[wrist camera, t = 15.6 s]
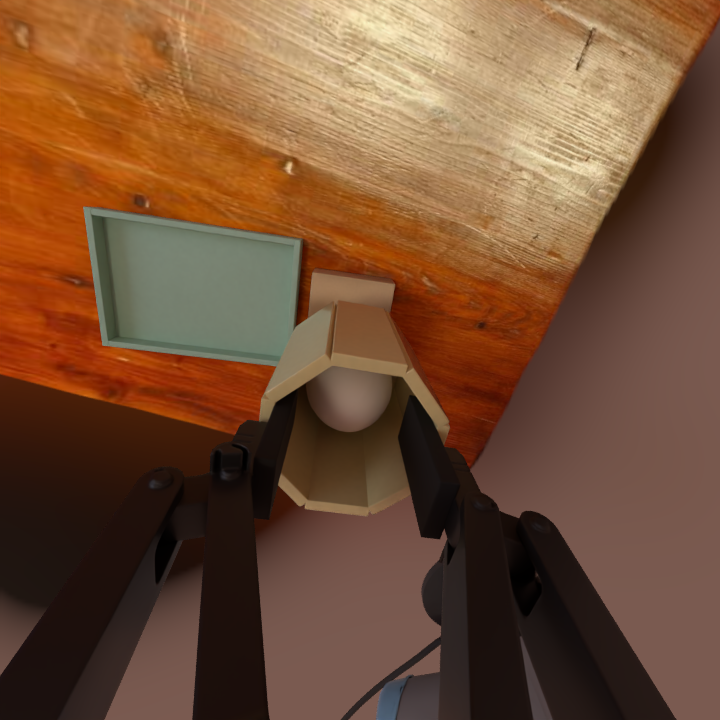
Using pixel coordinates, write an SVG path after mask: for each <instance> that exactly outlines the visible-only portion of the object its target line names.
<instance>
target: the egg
mask: <svg viewBox="0 0 720 720" xmlns="http://www.w3.org/2000/svg"><path fill="white" fill-rule="evenodd" d="M306 391H307V397H308V400H309V403H310V406H311V407H312V409H313V410H314V412H315V413H316V414H317V416H318V417H319V418H320V420H321V421H323V422H324V423H325V424H326V425H328V426H330V427H331V428H333V429H336V430H338V431H343V432H357V431H359V430H362V429H365V428H367V427H369V426H371V425H372V424H373V423H374V422H376V421H377V420H378V419H379V418H380V416H381V415H382V414H383V412H384V411H385V409H386V407H387V406H388V404H389V401H390V398H391V393H392V376H391V375H387V374H380V373H374V372H368V371H362V370H356V369H350V368H344V367H338V366H331V367H330V368H328V369H327V370H325V371H324V372H322V373H321V374H319V375H317V376H316V377H314V378H313V379H311V380H310V381H308V382H307V383H306Z"/></svg>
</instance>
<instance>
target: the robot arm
mask: <svg viewBox="0 0 720 720" xmlns="http://www.w3.org/2000/svg"><path fill="white" fill-rule="evenodd" d="M298 392H299V388H297V389H296V390H294V391H293V392H291V393H289V394H288V395H286V396H285V397H283V398H282V399H280V400H279V401H277V402H276V404H275V406H274V407H273V410H272V412H271V415H270V417H269V420H268V422H260V421H253V420H247V421H246V422H244V423H243V424H242V425H240V426H239V428H238V430H237V432H236V435H235V436H234V438H233V441H231V442H225V443H222V444H219V445H217V446H216V447H215V448H214V449H213V450H212V452H211V456H210V472H209V473H206V474H203V475H198V476H190V477H184V475H183V473H182V471H180V470H179V469H178V468H174V467H158V468H155V469H152V470H150V471H148V472H146V473H144V474H143V475H142V476H141V477H140V478H139V479H138V481H137V482H136V484H135V485H134V487H133V488H132V489H131V491H130V492H129V494H128V495H127V497H126V498H125V499H124V501H123V502H122V504H121V505H120V507H119V508H118V509H117V511H116V512H115V514H114V515H113V516H112V518H111V519H110V521H109V522H108V524H107V525H106V526H105V528H104V529H103V531H102V532H101V533H100V535H99V537H98V538H97V539H96V541H95V542H94V543H93V545H92V546H91V548H90V549H89V551H88V552H87V553H86V555H85V556H84V558H83V559H82V561H81V562H80V563H79V565H78V566H77V568H76V569H75V570H74V572H73V573H72V575H71V576H70V578H69V579H68V580H67V582H66V583H65V585H64V586H63V588H62V589H61V590H60V592H59V593H58V595H57V596H56V597H55V599H54V600H53V602H52V603H51V605H50V606H49V607H48V609H47V610H46V612H45V613H44V615H43V616H42V617H41V619H40V620H39V622H38V623H37V625H36V626H35V627H34V629H33V630H32V632H31V633H30V634H29V636H28V637H27V639H26V640H25V641H24V643H23V644H22V646H21V647H20V649H19V650H18V652H17V653H16V654H15V656H14V657H13V659H12V660H11V662H10V663H9V664H8V666H7V667H6V669H5V670H4V671H3V673H2V674H1V676H0V720H104V719H105V717H106V715H107V712H108V710H109V708H110V706H111V703H112V701H113V699H114V696H115V694H116V691H117V689H118V687H119V685H120V683H121V680H122V678H123V676H124V673H125V671H126V669H127V667H128V664H129V662H130V660H131V657H132V655H133V653H134V651H135V648H136V646H137V644H138V641H139V639H140V637H141V635H142V632H143V630H144V627H145V625H146V623H147V621H148V619H149V616H150V614H151V612H152V609H153V607H154V605H155V602H156V600H157V598H158V596H159V593H160V591H161V589H162V587H163V584H164V582H165V580H166V577H167V575H168V573H169V571H170V568H171V566H172V564H173V561H174V559H175V557H176V554H177V552H178V550H179V548H180V545H181V543H182V541H183V540H186V539H192V538H198V537H204V536H205V549H204V563H203V577H202V592H201V605H200V619H199V633H198V634H199V635H198V648H197V662H196V676H195V691H194V705H193V718H192V719H193V720H270V719H269V713H268V701H267V688H266V675H265V661H264V649H263V635H262V622H261V608H260V595H259V582H258V567H257V556H256V555H257V554H256V542H255V528H254V518H258V519H267V520H269V518H270V514H271V510H272V506H273V502H274V499H275V495H276V491H277V487H278V483H279V479H280V475H281V471H282V467H283V464H284V460H285V456H286V452H287V448H288V444H289V440H290V436H291V433H292V429H293V425H294V420H295V413H296V406H297V399H298ZM398 441H399V445H400V450H401V454H402V458H403V462H404V467H405V471H406V475H407V479H408V483H409V488H410V492H411V496H412V500H413V504H414V509H415V513H416V517H417V522H418V526H419V530H420V534H421V537H425V538H434V539H440V537H441V535H442V532H443V530H444V529H445V532H446V535H447V541H446V544H445V546H444V549H443V551H442V554H441V557H440V559H439V562H441V563H442V561H443V558H444V569H443V597H442V624H441V636H440V637H439V638H437V639H436V640H435V641H433V642H432V643H431V644H429V645H428V646H427V647H426V648H424V649H423V650H422V651H421V652H419V653H418V654H417V655H416V656H414V657H413V658H412V659H410V660H409V661H408V662H406V663H405V664H403V665H402V666H400V667H399V668H398V669H396V670H395V671H393V672H392V673H391V674H390V675H388V676H387V677H386V678H384V679H383V680H382V681H380V682H379V683H378V684H377V685H376V686H374V687H373V688H372V689H371V690H370V691H369V692H367V693H366V694H365V695H364V696H363V697H362V698H361V699H360V700H359V701H358V702H357V703H356V704H355V705H354V706H353V707H352V708H351V709H350V710H349V711H348V712H347V713H346V714H345V715H344V717H343V718H342V719H341V720H348V719H349V718H350V717H351V716H352V715H353V714H354V713H355V712H356V711H357V710H358V709H359V708H360V707H361V706H362V705H363V704H364V703H365V702H366V701H368V700H369V699H370V698H371V697H372V696H373V695H375V694H376V693H377V692H378V691H379V690H380V689H382V688H383V689H382V691H381V693H380V696H379V701H378V707H377V716H376V720H676V718H675V717H674V715H673V714H672V712H671V710H670V709H669V707H668V706H667V704H666V702H665V701H664V700H663V698H662V696H661V694H660V693H659V691H658V690H657V688H656V686H655V685H654V683H653V682H652V680H651V678H650V677H649V675H648V673H647V672H646V670H645V669H644V667H643V665H642V664H641V662H640V661H639V659H638V657H637V656H636V654H635V653H634V651H633V650H632V648H631V646H630V645H629V643H628V641H627V640H626V638H625V637H624V635H623V633H622V632H621V630H620V628H619V627H618V625H617V624H616V622H615V620H614V619H613V617H612V616H611V614H610V613H609V611H608V609H607V608H606V606H605V604H604V603H603V601H602V600H601V598H600V596H599V595H598V593H597V591H596V590H595V588H594V587H593V585H592V583H591V582H590V580H589V579H588V577H587V575H586V574H585V572H584V571H583V569H582V567H581V566H580V564H579V563H578V561H577V559H576V558H575V556H574V555H573V553H572V551H571V550H570V548H569V546H568V545H567V543H566V542H565V540H564V538H563V537H562V535H561V534H560V532H559V530H558V529H557V528H556V526H555V525H554V524H553V523H552V522H551V521H550V520H549V519H548V518H546V517H545V516H543V515H541V514H539V513H536V512H533V511H525V512H523V513H522V514H521V516H520V518H516V517H513V516H511V515H508V514H505V513H503V512H501V511H499V508H498V506H497V504H496V503H495V502H494V501H493V500H492V499H491V498H490V497H488V496H487V495H485V494H483V493H481V492H480V489H479V488H478V485H477V484H476V481H475V479H474V477H473V475H472V473H471V472H470V469H469V467H468V466H467V463H466V461H465V459H464V457H463V456H462V455H461V454H460V453H459V452H458V451H457V450H456V449H455V448H448V447H444V445H443V442H442V440H441V438H440V435H439V433H438V431H437V429H436V427H435V425H434V422H433V420H432V419H431V417H430V416H429V414H428V413H427V412H426V410H425V409H424V407H423V406H422V404H421V403H420V401H419V400H418V399H417V397H416V396H412V395H409V398H408V402H407V406H406V409H405V413H404V416H403V420H402V424H401V427H400V431H399V434H398ZM439 645H441V653H440V672H438V673H432V674H425V675H419V676H414V675H408V676H407V677H406V678H402V679H398V680H394V679H395V678H396V677H398V676H399V675H400V674H402V673H403V672H404V671H406V670H407V669H409V668H410V667H412V666H413V665H414V664H416V663H417V662H419V661H420V660H421V659H423V658H424V657H425V656H426V655H428V654H429V653H430V652H431V651H433V650H434V649H435V648H437V647H438V646H439ZM392 680H393V681H392Z"/></svg>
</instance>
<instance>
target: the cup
mask: <svg viewBox="0 0 720 720" xmlns="http://www.w3.org/2000/svg"><path fill="white" fill-rule="evenodd" d="M331 366H338V367H344V368H350V369H356V370H362V371H368V372H374V373H380V374H387V375H391V376H392V393H391V398H390V401H389V404H388V406H387V407H386V409H385V411H384V412H383V414H382V415H381V416H380V418H379V419H378V420H377V421H376V422H374V423H373V424H372V425H371V426H369V427H367V428H365V429H362V430H359V431H357V432H343V431H338V430H336V429H333V428H331V427H330V426H328V425H326V424H325V423H324V422H323V421H321V420H320V418H319V417H318V416H317V414H316V413H315V412H314V410H313V409H312V407H311V406H310V403H309V400H308V397H307V391H306V383H307V382H308V381H310V380H311V379H313V378H314V377H316V376H317V375H319V374H321V373H322V372H324V371H325V370H327V369H328V368H330V367H331ZM297 388H299V392H298V399H297V406H296V413H295V420H294V425H293V429H292V433H291V436H290V440H289V444H288V448H287V452H286V456H285V460H284V464H283V467H282V471H281V475H280V479H279V483H278V485H279V486H280V487H281V488H282V489H283V490H284V491H285V492H286V493H287V494H288V495H289V496H290V497H291V498H292V499H293V500H294V501H295V502H296V503H297V504H298V505H299V506H302V505H304V504H305V509H310V510H318V511H327V512H336V513H344V514H352V515H361V516H368V514H369V511H370V512H371V513H372V514H373V515H374V514H376V513H378V512H380V511H382V510H384V509H386V508H388V507H389V506H391V505H393V504H395V503H397V502H399V501H401V500H403V499H404V498H406V497H408V496H410V495H411V492H410V488H409V483H408V479H407V475H406V471H405V467H404V462H403V458H402V454H401V450H400V445H399V441H398V434H399V431H400V427H401V424H402V420H403V416H404V413H405V409H406V406H407V402H408V398H409V395H412V396H416V397H417V399H418V400H419V401H420V403H421V404H422V406H423V407H424V409H425V410H426V412H427V413H428V414H429V416H430V417H431V419H432V420H433V422H434V425H435V427H436V429H437V431H438V433H439V435H440V438H441V440H442V442H443V445H444V444H445V441H446V438H447V435H448V432H449V429H450V426H449V424H448V423H449V419H448V417H447V415H446V413H445V411H444V410H443V408H442V406H441V404H440V402H439V400H438V398H437V396H436V394H435V392H434V390H433V388H432V386H431V384H430V382H429V380H428V378H427V376H426V374H425V372H424V370H423V368H422V366H421V364H420V362H419V360H418V358H417V357H416V355H415V353H414V351H413V349H412V347H411V345H410V344H409V342H408V341H407V339H406V338H405V336H404V335H403V333H402V332H401V330H400V328H399V327H398V325H397V324H396V322H395V321H394V319H393V318H392V316H391V315H390V313H389V312H388V311H387V312H385V309H384V308H378V307H373V306H368V305H364V304H359V303H351V302H346V301H340V300H338V301H337V304H336V303H335V302H334V301H333V302H331V303H330V304H328V305H327V306H325V307H324V308H322V309H321V310H319V311H318V312H316V313H315V314H314V315H312V316H311V317H309V318H308V319H306V320H305V321H303V322H302V323H300V324H299V325H298V326H296V327H295V329H294V331H293V333H292V335H291V337H290V339H289V341H288V343H287V345H286V348H285V350H284V352H283V354H282V356H281V358H280V360H279V363H278V365H277V367H276V369H275V371H274V373H273V375H272V378H271V380H270V382H269V384H268V386H267V388H266V390H265V393H264V395H263V397H262V399H261V408H260V418H259V421H260V422H268V420H269V417H270V415H271V412H272V410H273V407H274V406H275V404H276V402H277V401H279V400H280V399H282V398H283V397H285V396H286V395H288V394H289V393H291V392H293V391H294V390H296V389H297Z"/></svg>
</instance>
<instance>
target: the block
mask: <svg viewBox="0 0 720 720" xmlns="http://www.w3.org/2000/svg"><path fill="white" fill-rule="evenodd" d="M394 289H395V283H394V282H393V280H392V279H388V278H381V277H374V276H367V275H361V274H354V273H347V272H340V271H333V270H327V269H320V268H315V269H314V271H313V272H312V281H311V291H310V302H309V312H308V318H309V317H311V316H312V315H314V314H315V313H316V312H318V311H319V310H321V309H322V308H324V307H325V306H327V305H328V304H330V303H331V302H333V301H334V302H335V303H336V304H337V301H338V300H340V301H346V302H351V303H359V304H364V305H368V306H373V307H378V308H384V309H385V312H387V311H388V312H389V313H390V311H391V305H392V300H393V295H394Z"/></svg>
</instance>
